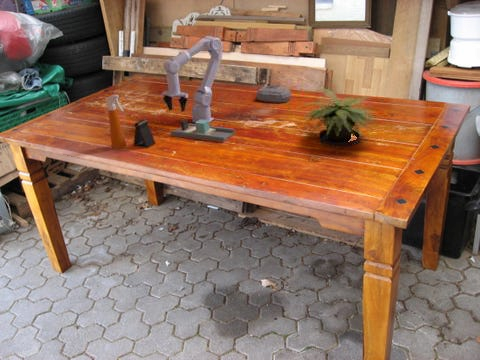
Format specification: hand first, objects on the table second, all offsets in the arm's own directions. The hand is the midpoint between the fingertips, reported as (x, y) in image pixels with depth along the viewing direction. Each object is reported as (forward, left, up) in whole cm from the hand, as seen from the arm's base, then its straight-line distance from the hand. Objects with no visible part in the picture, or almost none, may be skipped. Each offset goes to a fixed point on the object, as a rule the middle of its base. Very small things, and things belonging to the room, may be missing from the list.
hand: (177, 110), depth 233 cm
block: (+18, -5, -8) cm, 20 cm away
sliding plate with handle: (+14, -5, -9) cm, 17 cm away
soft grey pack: (+31, +58, -10) cm, 66 cm away
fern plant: (+83, +9, -10) cm, 84 cm away
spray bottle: (-13, -31, -10) cm, 35 cm away
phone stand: (-4, -25, -10) cm, 27 cm away
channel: (+17, -5, -9) cm, 20 cm away
